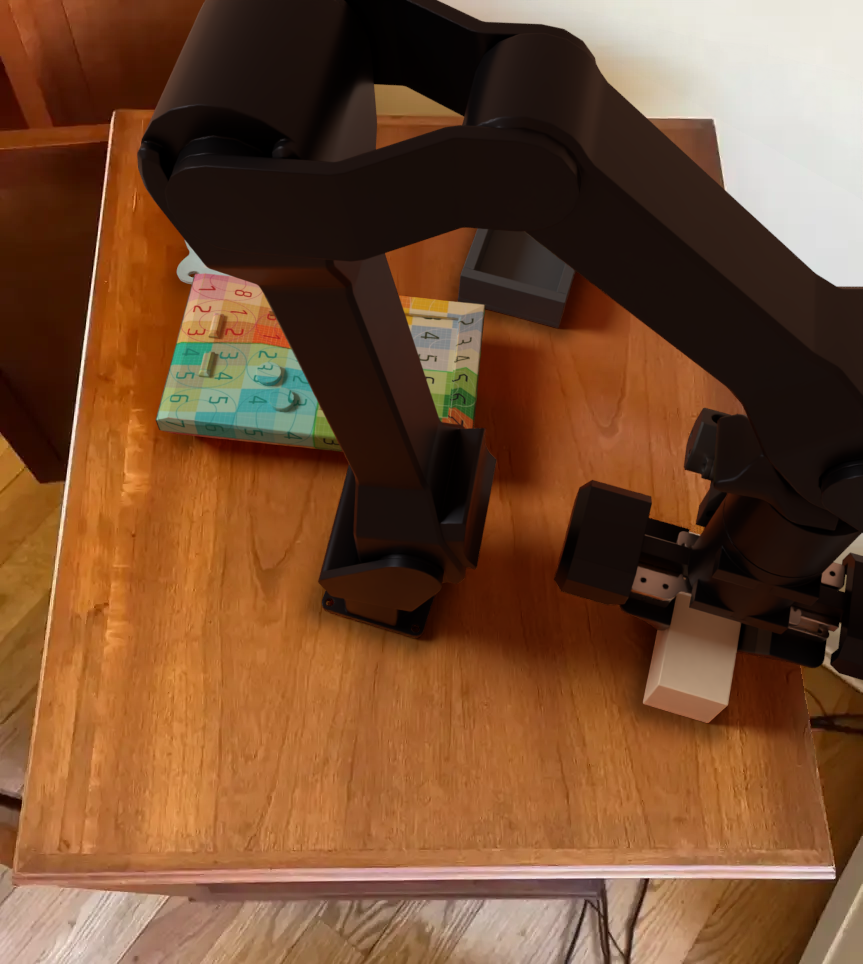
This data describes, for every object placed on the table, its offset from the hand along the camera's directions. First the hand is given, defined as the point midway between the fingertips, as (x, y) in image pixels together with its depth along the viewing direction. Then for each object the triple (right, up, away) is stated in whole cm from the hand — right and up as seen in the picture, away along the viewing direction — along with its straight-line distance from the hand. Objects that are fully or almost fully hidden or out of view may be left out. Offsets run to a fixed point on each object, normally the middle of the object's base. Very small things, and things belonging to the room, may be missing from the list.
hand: (694, 632), depth 62 cm
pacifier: (-31, +25, +13) cm, 42 cm away
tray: (-9, +27, +15) cm, 32 cm away
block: (-1, -4, -3) cm, 5 cm away
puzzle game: (-23, +15, +8) cm, 29 cm away
